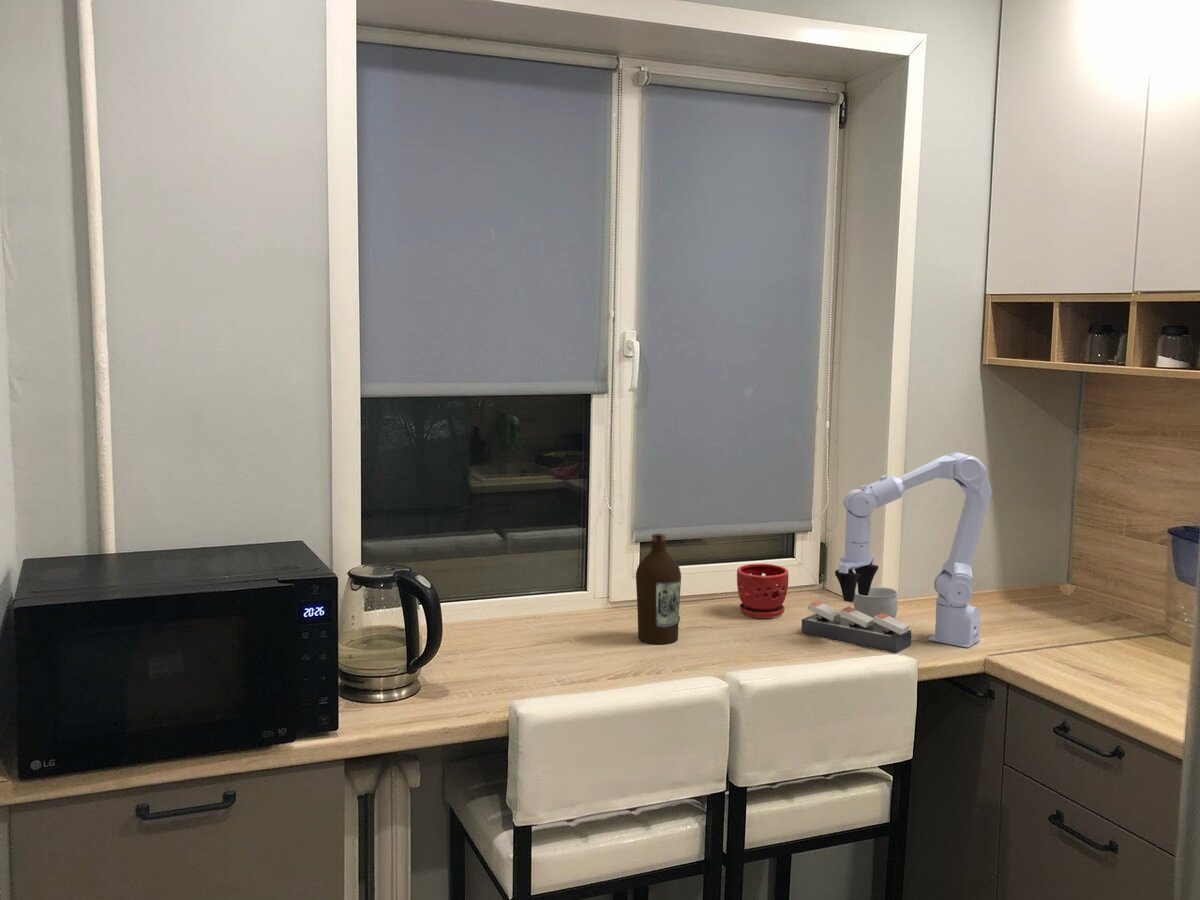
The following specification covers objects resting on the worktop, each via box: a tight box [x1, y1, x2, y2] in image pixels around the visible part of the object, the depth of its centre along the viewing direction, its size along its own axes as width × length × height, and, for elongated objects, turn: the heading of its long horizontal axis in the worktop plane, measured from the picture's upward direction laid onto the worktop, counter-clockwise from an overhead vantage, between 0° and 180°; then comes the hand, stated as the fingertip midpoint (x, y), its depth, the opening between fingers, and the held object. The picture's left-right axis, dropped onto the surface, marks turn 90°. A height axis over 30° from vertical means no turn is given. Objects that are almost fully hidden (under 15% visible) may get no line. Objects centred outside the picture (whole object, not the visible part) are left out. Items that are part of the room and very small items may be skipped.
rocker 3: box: [873, 613, 910, 635], centre depth 233 cm, size 7×4×2 cm, turn 50°
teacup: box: [853, 585, 899, 624], centre depth 255 cm, size 14×11×8 cm
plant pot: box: [736, 563, 789, 619], centre depth 260 cm, size 13×13×12 cm
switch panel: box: [801, 613, 912, 654], centre depth 239 cm, size 24×8×5 cm, turn 49°
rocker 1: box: [807, 600, 842, 621], centre depth 244 cm, size 7×4×2 cm, turn 50°
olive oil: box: [635, 533, 682, 645], centre depth 238 cm, size 11×11×25 cm
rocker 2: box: [839, 606, 874, 628], centre depth 238 cm, size 7×4×2 cm, turn 50°
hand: (856, 598), depth 238 cm, fingers open, 7 cm apart
